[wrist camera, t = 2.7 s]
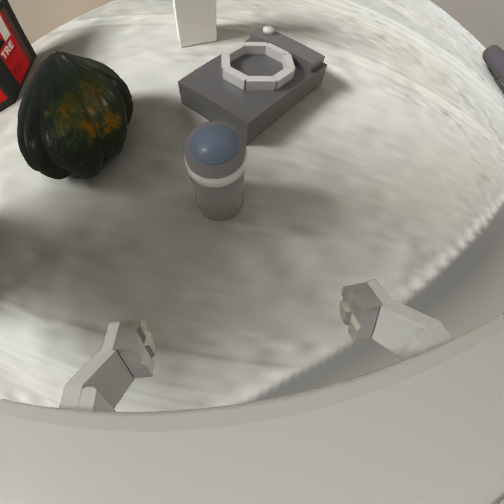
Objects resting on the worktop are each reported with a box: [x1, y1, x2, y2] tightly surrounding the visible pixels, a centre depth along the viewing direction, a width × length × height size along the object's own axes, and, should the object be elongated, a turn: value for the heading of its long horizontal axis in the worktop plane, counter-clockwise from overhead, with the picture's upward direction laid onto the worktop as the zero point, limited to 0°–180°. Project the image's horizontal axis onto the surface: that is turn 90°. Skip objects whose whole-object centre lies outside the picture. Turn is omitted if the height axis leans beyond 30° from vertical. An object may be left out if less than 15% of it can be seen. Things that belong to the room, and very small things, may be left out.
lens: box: [183, 121, 247, 220], centre depth 24 cm, size 5×5×10 cm
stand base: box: [178, 26, 327, 146], centre depth 31 cm, size 16×11×6 cm
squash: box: [17, 51, 133, 179], centre depth 25 cm, size 14×15×15 cm
